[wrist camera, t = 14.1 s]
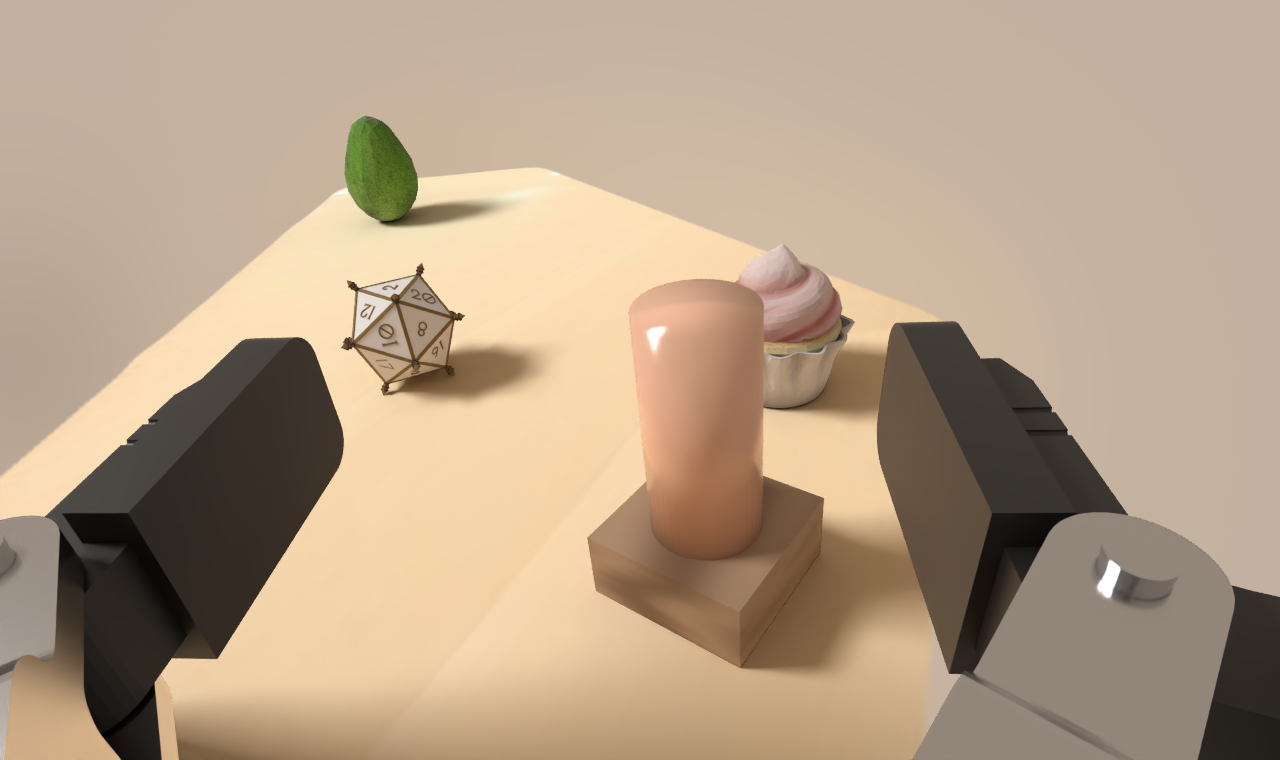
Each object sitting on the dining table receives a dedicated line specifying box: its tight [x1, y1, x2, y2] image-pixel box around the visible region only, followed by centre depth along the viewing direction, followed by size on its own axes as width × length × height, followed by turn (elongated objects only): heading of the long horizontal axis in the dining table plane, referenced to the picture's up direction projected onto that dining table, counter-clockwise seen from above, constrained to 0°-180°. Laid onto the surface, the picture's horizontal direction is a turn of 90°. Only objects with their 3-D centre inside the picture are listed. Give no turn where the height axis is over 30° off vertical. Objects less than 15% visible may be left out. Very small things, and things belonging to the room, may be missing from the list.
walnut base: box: [588, 476, 824, 668], centre depth 35 cm, size 8×8×4 cm
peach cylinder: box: [629, 279, 764, 560], centre depth 31 cm, size 5×5×11 cm
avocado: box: [345, 116, 418, 221], centre depth 84 cm, size 8×8×12 cm
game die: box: [341, 263, 465, 395], centre depth 53 cm, size 9×8×10 cm
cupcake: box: [734, 244, 855, 408], centre depth 47 cm, size 9×9×10 cm
